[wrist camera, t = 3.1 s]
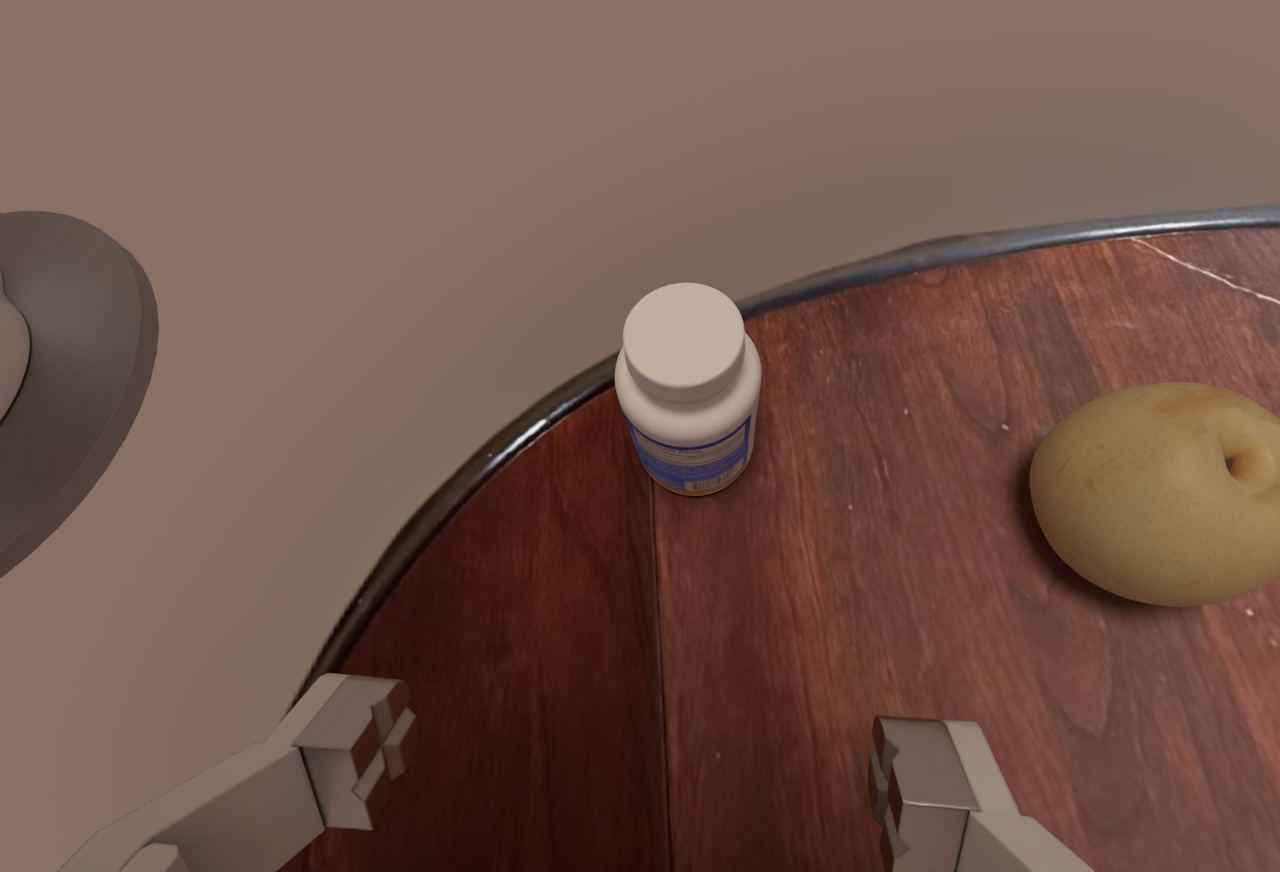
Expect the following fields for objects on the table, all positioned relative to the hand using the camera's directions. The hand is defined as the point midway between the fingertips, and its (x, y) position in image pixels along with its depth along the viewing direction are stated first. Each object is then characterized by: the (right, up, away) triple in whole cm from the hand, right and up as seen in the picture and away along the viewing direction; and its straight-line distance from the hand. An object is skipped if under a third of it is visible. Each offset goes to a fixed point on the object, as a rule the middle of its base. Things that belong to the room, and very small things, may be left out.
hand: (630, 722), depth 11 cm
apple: (+19, +2, +15) cm, 24 cm away
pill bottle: (+3, +5, +18) cm, 19 cm away
